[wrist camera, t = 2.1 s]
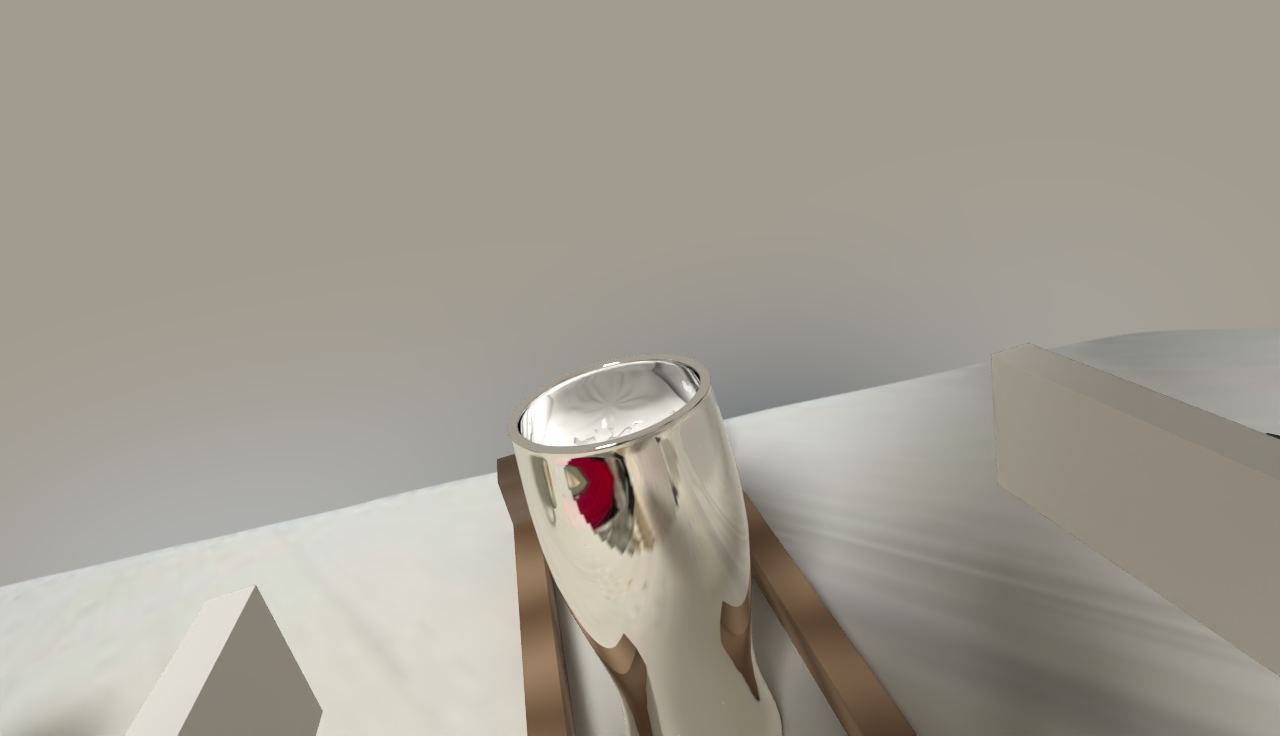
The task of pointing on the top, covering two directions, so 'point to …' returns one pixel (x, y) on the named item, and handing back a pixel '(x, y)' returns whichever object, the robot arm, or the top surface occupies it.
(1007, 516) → the top surface
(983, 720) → the top surface
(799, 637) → the brown u-shaped block
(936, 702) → the top surface
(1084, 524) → the robot arm
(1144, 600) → the top surface
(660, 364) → the metal tumbler
